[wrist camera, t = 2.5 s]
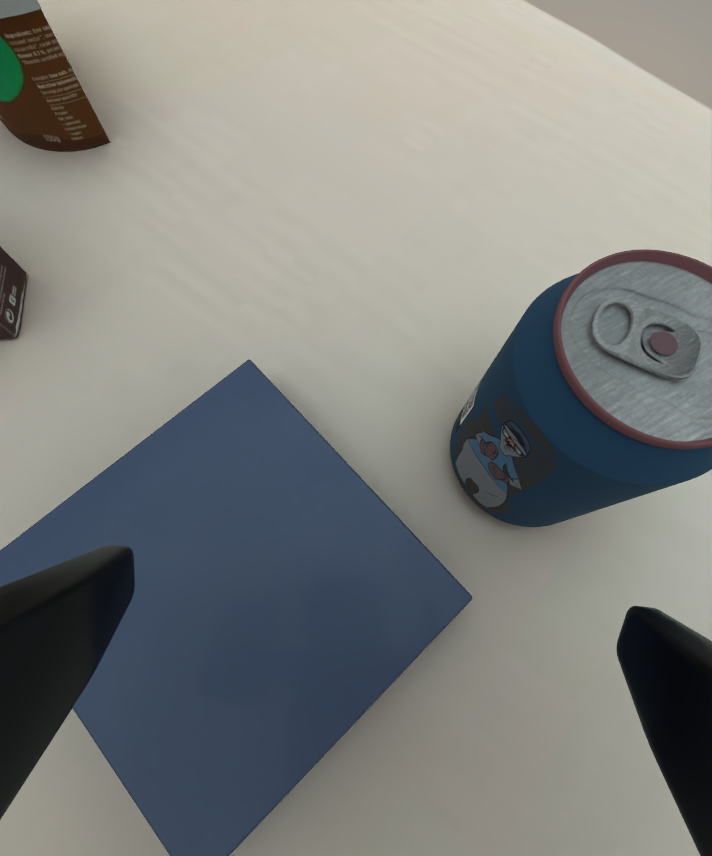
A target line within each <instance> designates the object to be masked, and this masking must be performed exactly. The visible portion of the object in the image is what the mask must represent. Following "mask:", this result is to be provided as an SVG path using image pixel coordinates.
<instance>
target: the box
mask: <svg viewBox="0 0 712 856" xmlns="http://www.w3.org/2000/svg"><path fill="white" fill-rule="evenodd" d="M25 282H26V272H25V271H24V270H23V269H22V268H21V267H20V266H19V265H18V264H17V263H16V262H15V261H14V260H13V259H12V258H11V257H10V256H9V255H8V254H7V253H6V252H5V251H4V250H3V249H2V248H1V247H0V338H12V337H16V335H17V332H18V330H19V328H20V319H21V313H22V310H23V298H24V289H25Z"/></svg>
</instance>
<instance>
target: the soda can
mask: <svg viewBox="0 0 712 856" xmlns="http://www.w3.org/2000/svg"><path fill="white" fill-rule="evenodd" d="M450 454H451V460H452V465H453V469H454V471H455V474H456V476H457V479H458V481H459V483H460V485H461V486H462V488H463V489H464V491H465V492H466V493H467V495H468V496H469V497H470V498H471V499H472V500H473V501H474V502H475V503H476V504H477V505H478V506H479V507H480V508H481V509H483V510H484V511H485V512H487V513H488V514H490V515H492V516H493V517H495V518H497V519H499V520H502V521H504V522H507V523H510V524H514V525H518V526H525V527H541V526H548V525H552V524H555V523H559V522H562V521H565V520H568V519H571V518H574V517H577V516H580V515H583V514H586V513H589V512H592V511H595V510H599V509H602V508H605V507H608V506H611V505H614V504H617V503H620V502H623V501H626V500H629V499H632V498H635V497H639V496H642V495H645V494H648V493H651V492H654V491H657V490H660V489H663V488H666V487H669V486H672V485H675V484H678V483H682V482H685V481H688V480H691V479H693V478H696V477H698V476H700V475H702V474H704V473H706V472H708V471H709V470H711V469H712V267H711V266H709V265H707V264H705V263H703V262H700V261H698V260H695V259H692V258H690V257H687V256H683V255H680V254H676V253H672V252H666V251H659V250H630V251H624V252H620V253H616V254H612V255H609V256H607V257H604V258H602V259H600V260H598V261H596V262H594V263H592V264H591V265H589V266H588V267H586V268H585V269H584V270H583V271H581V272H580V273H579V274H576V275H573V276H571V277H568V278H566V279H563V280H561V281H560V282H558V283H556V284H554V285H552V286H551V287H549V288H548V289H547V290H545V291H544V292H543V293H542V294H540V295H539V296H538V297H537V298H536V299H535V300H534V301H533V302H532V304H531V305H530V306H529V307H528V309H527V310H526V312H525V313H524V315H523V316H522V318H521V319H520V321H519V323H518V324H517V326H516V327H515V329H514V330H513V332H512V333H511V335H510V336H509V338H508V339H507V341H506V343H505V344H504V346H503V347H502V349H501V350H500V352H499V353H498V355H497V356H496V358H495V359H494V361H493V363H492V364H491V366H490V367H489V369H488V370H487V372H486V373H485V375H484V376H483V378H482V380H481V381H480V383H479V384H478V386H477V387H476V389H475V390H474V392H473V393H472V395H471V396H470V398H469V400H468V401H467V403H466V404H465V406H464V407H463V409H462V410H461V412H460V413H459V415H458V417H457V419H456V421H455V423H454V426H453V430H452V434H451V440H450Z"/></svg>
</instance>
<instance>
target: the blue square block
mask: <svg viewBox="0 0 712 856" xmlns="http://www.w3.org/2000/svg"><path fill="white" fill-rule="evenodd" d="M105 545H119V546H127V547H130V548H131V549H132V551H133V554H134V572H135V591H134V595H133V598H132V600H131V602H130V604H129V606H128V608H127V610H126V612H125V614H124V616H123V618H122V620H121V622H120V624H119V626H118V628H117V630H116V632H115V634H114V636H113V637H112V639H111V641H110V643H109V645H108V647H107V649H106V651H105V653H104V655H103V657H102V659H101V661H100V663H99V665H98V667H97V669H96V670H95V672H94V674H93V676H92V678H91V679H90V681H89V682H88V684H87V686H86V687H85V689H84V691H83V692H82V694H81V695H80V697H79V698H78V700H77V701H76V703H75V705H74V706H73V709H74V711H75V712H76V714H77V715H78V717H79V718H80V720H81V721H82V723H83V724H84V726H85V727H86V729H87V730H88V732H89V734H90V735H91V737H92V738H93V740H94V741H95V743H96V744H97V746H98V747H99V749H100V750H101V752H102V753H103V755H104V756H105V758H106V759H107V761H108V762H109V764H110V765H111V767H112V768H113V770H114V771H115V773H116V774H117V776H118V777H119V779H120V780H121V782H122V784H123V785H124V787H125V788H126V790H127V791H128V793H129V794H130V796H131V797H132V799H133V800H134V802H135V803H136V805H137V806H138V808H139V809H140V811H141V812H142V814H143V815H144V817H145V818H146V820H147V821H148V823H149V824H150V826H151V827H152V829H153V831H154V832H155V834H156V835H157V837H158V838H159V840H160V841H161V843H162V844H163V846H164V847H165V849H166V850H167V852H168V853H169V855H170V856H229V855H230V854H231V853H232V852H233V851H234V850H235V849H236V848H237V847H238V846H239V845H240V844H241V842H242V841H243V840H244V839H245V838H246V837H247V836H248V835H249V834H250V833H251V832H252V831H253V830H254V829H255V828H256V827H257V826H258V825H259V823H260V822H261V821H262V820H263V819H264V818H265V817H266V816H267V815H268V814H269V813H270V812H271V811H272V810H273V809H274V808H275V807H276V806H277V804H278V803H279V802H280V801H281V800H282V799H283V798H284V797H285V796H286V795H287V794H288V793H289V792H290V791H291V790H292V789H293V788H294V787H295V785H296V784H297V783H298V782H299V781H300V780H301V779H302V778H303V777H304V776H305V775H306V774H307V773H308V772H309V771H310V770H311V769H312V768H313V766H314V765H315V764H316V763H317V762H318V761H319V760H320V759H321V758H322V757H323V756H324V755H325V754H326V753H327V752H328V751H329V750H330V749H331V747H332V746H333V745H334V744H335V743H336V742H337V741H338V740H339V739H340V738H341V737H342V736H343V735H344V734H345V733H346V732H347V731H348V730H349V728H350V727H351V726H352V725H353V724H354V723H355V722H356V721H357V720H358V719H359V718H360V717H361V716H362V715H363V714H364V713H365V712H366V711H367V710H368V708H369V707H370V706H371V705H372V704H373V703H374V702H375V701H376V700H377V699H378V698H379V697H380V696H381V695H382V694H383V693H384V692H385V691H386V689H387V688H388V687H389V686H390V685H391V684H392V683H393V682H394V681H395V680H396V679H397V678H398V677H399V676H400V675H401V674H402V673H403V672H404V670H405V669H406V668H407V667H408V666H409V665H410V664H411V663H412V662H413V661H414V660H415V659H416V658H417V657H418V656H419V655H420V654H421V653H422V651H423V650H424V649H425V648H426V647H427V646H428V645H429V644H430V643H431V642H432V641H433V640H434V639H435V638H436V637H437V636H438V635H439V634H440V632H441V631H442V630H443V629H444V628H445V627H446V626H447V625H448V624H449V623H450V622H451V621H452V620H453V619H454V618H455V617H456V616H457V615H458V613H459V612H460V611H461V610H462V609H463V608H464V607H465V606H466V605H467V604H468V603H469V602H470V601H471V600H472V596H471V595H470V594H469V593H468V592H467V591H466V590H465V588H464V587H463V586H462V585H461V584H460V583H459V582H458V581H457V580H456V579H455V578H454V577H453V576H452V575H451V573H450V572H449V571H448V570H447V569H446V568H445V567H444V566H443V565H442V564H441V563H440V562H439V561H438V560H437V559H436V557H435V556H434V555H433V554H432V553H431V552H430V551H429V550H428V549H427V548H426V547H425V546H424V545H423V544H422V543H421V541H420V540H419V539H418V538H417V537H416V536H415V535H414V534H413V533H412V532H411V531H410V530H409V529H408V528H407V527H406V525H405V524H404V523H403V522H402V521H401V520H400V519H399V518H398V517H397V516H396V515H395V514H394V513H393V512H392V511H391V509H390V508H389V507H388V506H387V505H386V504H385V503H384V502H383V501H382V500H381V499H380V498H379V497H378V496H377V495H376V493H375V492H374V491H373V490H372V489H371V488H370V487H369V486H368V485H367V484H366V483H365V482H364V481H363V480H362V479H361V477H360V476H359V475H358V474H357V473H356V472H355V471H354V470H353V469H352V468H351V467H350V466H349V465H348V464H347V463H346V461H345V460H344V459H343V458H342V457H341V456H340V455H339V454H338V453H337V452H336V451H335V450H334V449H333V448H332V447H331V445H330V444H329V443H328V442H327V441H326V440H325V439H324V438H323V437H322V436H321V435H320V434H319V433H318V432H317V431H316V429H315V428H314V427H313V426H312V425H311V424H310V423H309V422H308V421H307V420H306V419H305V418H304V417H303V416H302V415H301V413H300V412H299V411H298V410H297V409H296V408H295V407H294V406H293V405H292V404H291V403H290V402H289V401H288V400H287V399H286V397H285V396H284V395H283V394H282V393H281V392H280V391H279V390H278V389H277V388H276V387H275V386H274V385H273V384H272V383H271V381H270V380H269V379H268V378H267V377H266V376H265V375H264V374H263V373H262V372H261V371H260V370H259V369H258V368H257V367H256V365H255V364H254V363H253V362H252V361H251V360H247V361H246V362H245V363H244V364H242V365H241V366H240V367H238V368H237V369H236V370H234V371H233V372H232V373H231V374H229V375H228V376H227V377H225V378H224V379H223V380H221V381H220V382H219V383H218V384H216V385H215V386H214V387H212V388H211V389H210V390H208V391H207V392H206V393H205V394H203V395H202V396H201V397H199V398H198V399H197V400H195V401H194V402H193V403H192V404H190V405H189V406H188V407H186V408H185V409H184V410H182V411H181V412H180V413H179V414H177V415H176V416H175V417H173V418H172V419H171V420H169V421H168V422H167V423H166V424H164V425H163V426H162V427H160V428H159V429H158V430H156V431H155V432H154V433H153V434H151V435H150V436H149V437H147V438H146V439H145V440H143V441H142V442H141V443H140V444H138V445H137V446H136V447H134V448H133V449H132V450H130V451H129V452H128V453H127V454H125V455H124V456H123V457H121V458H120V459H119V460H117V461H116V462H115V463H114V464H112V465H111V466H110V467H108V468H107V469H106V470H104V471H103V472H102V473H101V474H99V475H98V476H97V477H95V478H94V479H93V480H91V481H90V482H89V483H88V484H86V485H85V486H84V487H82V488H81V489H80V490H78V491H77V492H76V493H75V494H73V495H72V496H71V497H69V498H68V499H67V500H66V501H64V502H63V503H62V504H60V505H59V506H58V507H56V508H55V509H54V510H53V511H51V512H50V513H49V514H47V515H46V516H45V517H43V518H42V519H41V520H40V521H38V522H37V523H36V524H34V525H33V526H32V527H30V528H29V529H28V530H27V531H25V532H24V533H23V534H21V535H20V536H19V537H17V538H16V539H15V540H14V541H12V542H11V543H10V544H8V545H7V546H6V547H4V548H3V549H2V550H1V551H0V587H1V586H3V585H6V584H8V583H11V582H13V581H16V580H18V579H21V578H24V577H26V576H29V575H31V574H34V573H36V572H39V571H41V570H44V569H47V568H49V567H52V566H54V565H57V564H59V563H62V562H65V561H67V560H70V559H72V558H75V557H77V556H80V555H82V554H85V553H88V552H90V551H93V550H95V549H98V548H100V547H103V546H105Z"/></svg>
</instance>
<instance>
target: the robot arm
mask: <svg viewBox="0 0 712 856" xmlns="http://www.w3.org/2000/svg"><path fill="white" fill-rule="evenodd" d="M134 591H135V572H134V554H133V551H132V549H131V548H130V547H127V546H119V545H105V546H103V547H100V548H98V549H95V550H93V551H90V552H88V553H85V554H82V555H80V556H77V557H75V558H72V559H70V560H67V561H65V562H62V563H59V564H57V565H54V566H52V567H49V568H47V569H44V570H41V571H39V572H36V573H34V574H31V575H29V576H26V577H24V578H21V579H18V580H16V581H13V582H11V583H8V584H6V585H3V586H1V587H0V819H1V818H2V816H3V815H4V813H5V812H6V810H7V809H8V807H9V805H10V804H11V802H12V801H13V799H14V798H15V796H16V795H17V793H18V791H19V790H20V788H21V787H22V785H23V784H24V782H25V781H26V779H27V777H28V776H29V774H30V773H31V771H32V770H33V768H34V767H35V765H36V764H37V762H38V760H39V759H40V757H41V756H42V754H43V753H44V751H45V750H46V748H47V746H48V745H49V743H50V742H51V740H52V739H53V737H54V736H55V734H56V732H57V731H58V729H59V728H60V726H61V725H62V723H63V722H64V720H65V719H66V717H67V715H68V714H69V712H70V711H71V709H72V708H73V706H74V705H75V703H76V701H77V700H78V698H79V697H80V695H81V694H82V692H83V691H84V689H85V687H86V686H87V684H88V682H89V681H90V679H91V678H92V676H93V674H94V672H95V670H96V669H97V667H98V665H99V663H100V661H101V659H102V657H103V655H104V653H105V651H106V649H107V647H108V645H109V643H110V641H111V639H112V637H113V636H114V634H115V632H116V630H117V628H118V626H119V624H120V622H121V620H122V618H123V616H124V614H125V612H126V610H127V608H128V606H129V604H130V602H131V600H132V598H133V595H134ZM617 656H618V660H619V662H620V665H621V668H622V671H623V674H624V676H625V679H626V682H627V685H628V688H629V690H630V693H631V696H632V699H633V702H634V704H635V707H636V710H637V713H638V716H639V718H640V721H641V724H642V727H643V730H644V732H645V735H646V737H647V740H648V742H649V745H650V747H651V750H652V752H653V754H654V756H655V759H656V761H657V763H658V765H659V767H660V770H661V772H662V774H663V776H664V778H665V780H666V783H667V785H668V787H669V789H670V791H671V793H672V795H673V798H674V800H675V802H676V804H677V806H678V808H679V810H680V813H681V815H682V817H683V819H684V821H685V823H686V826H687V828H688V830H689V832H690V834H691V836H692V838H693V841H694V843H695V845H696V847H697V849H698V851H699V854H700V856H712V641H710V640H709V639H707V638H705V637H704V636H702V635H700V634H698V633H697V632H695V631H693V630H692V629H690V628H688V627H687V626H685V625H683V624H682V623H680V622H678V621H677V620H675V619H673V618H672V617H670V616H668V615H667V614H665V613H663V612H661V611H660V610H658V609H655V608H649V607H640V606H633V607H631V608H630V609H629V610H628V611H627V614H626V617H625V620H624V623H623V626H622V629H621V632H620V635H619V638H618V642H617Z"/></svg>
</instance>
